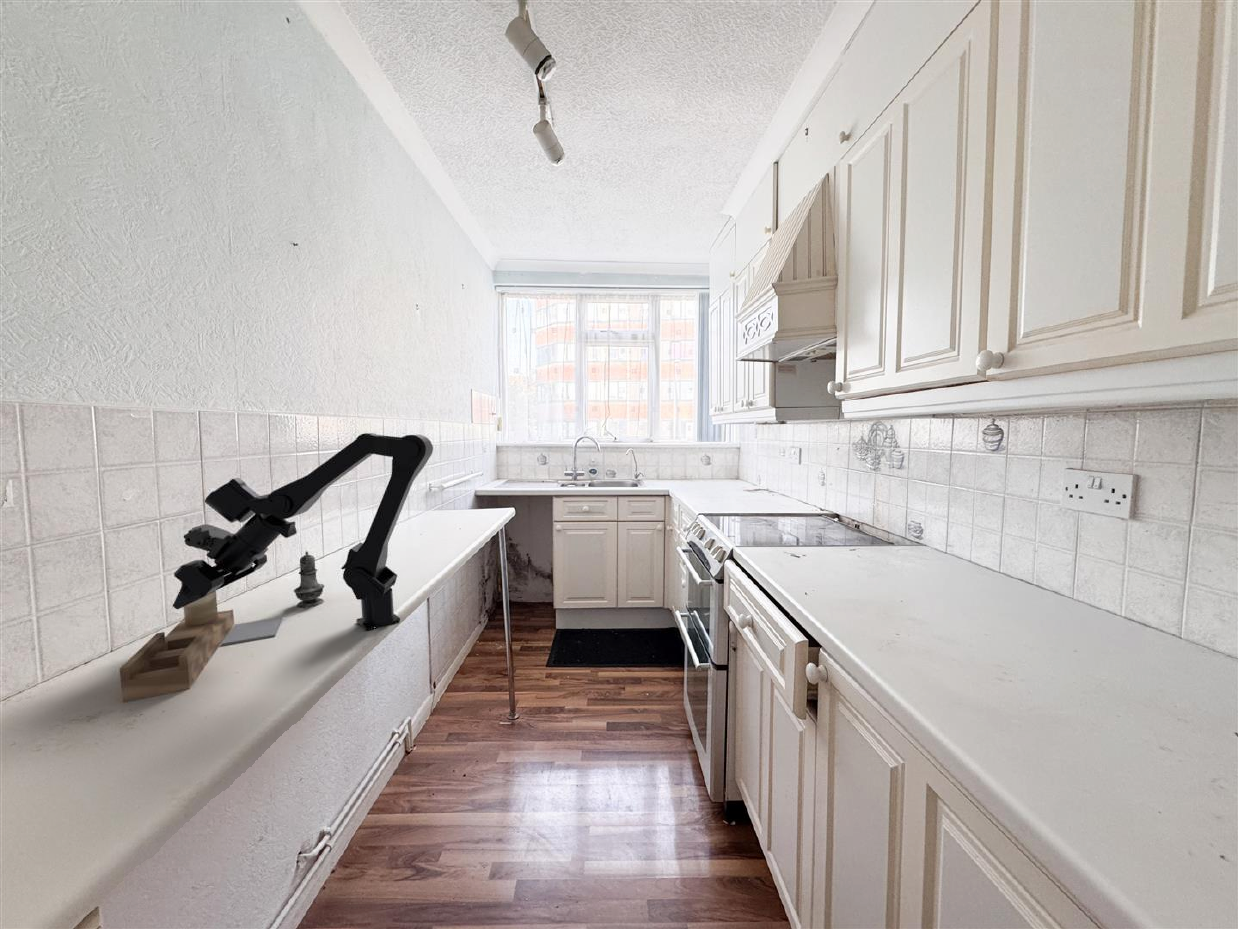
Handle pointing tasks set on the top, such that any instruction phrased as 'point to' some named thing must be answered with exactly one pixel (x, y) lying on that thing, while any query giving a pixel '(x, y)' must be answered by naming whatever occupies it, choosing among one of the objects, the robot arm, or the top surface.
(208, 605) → the birch cylinder
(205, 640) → the wooden track
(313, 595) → the salt shaker
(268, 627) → the mat
